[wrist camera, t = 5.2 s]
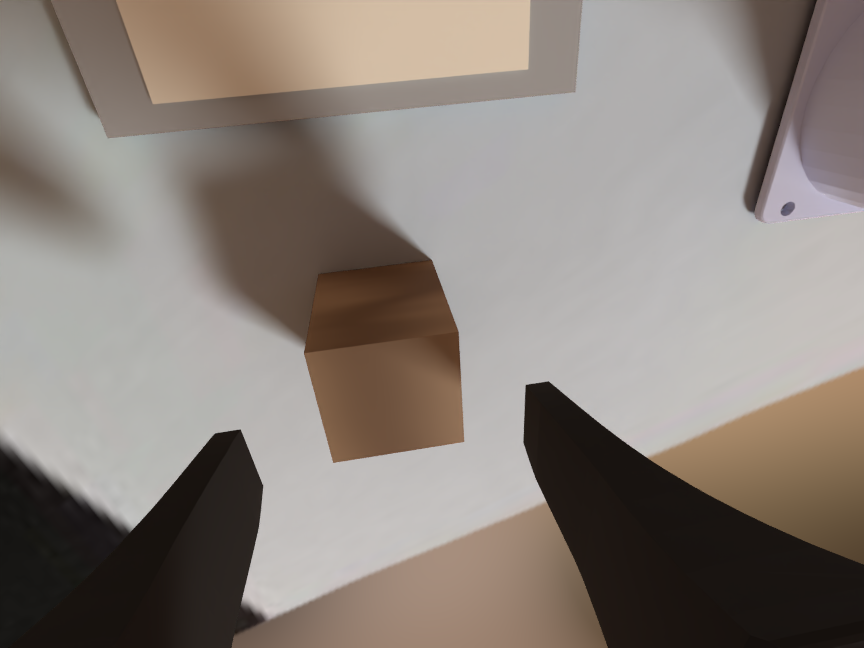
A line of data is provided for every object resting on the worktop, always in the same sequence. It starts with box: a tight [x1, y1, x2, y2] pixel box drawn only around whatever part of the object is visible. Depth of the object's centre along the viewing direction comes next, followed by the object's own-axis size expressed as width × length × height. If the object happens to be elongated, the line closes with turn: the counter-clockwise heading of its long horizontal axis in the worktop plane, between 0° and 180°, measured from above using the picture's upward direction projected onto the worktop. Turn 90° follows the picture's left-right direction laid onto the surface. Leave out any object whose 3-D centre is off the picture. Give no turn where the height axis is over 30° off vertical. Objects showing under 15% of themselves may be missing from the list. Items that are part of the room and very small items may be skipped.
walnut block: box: [304, 260, 464, 463], centre depth 15 cm, size 4×4×5 cm
